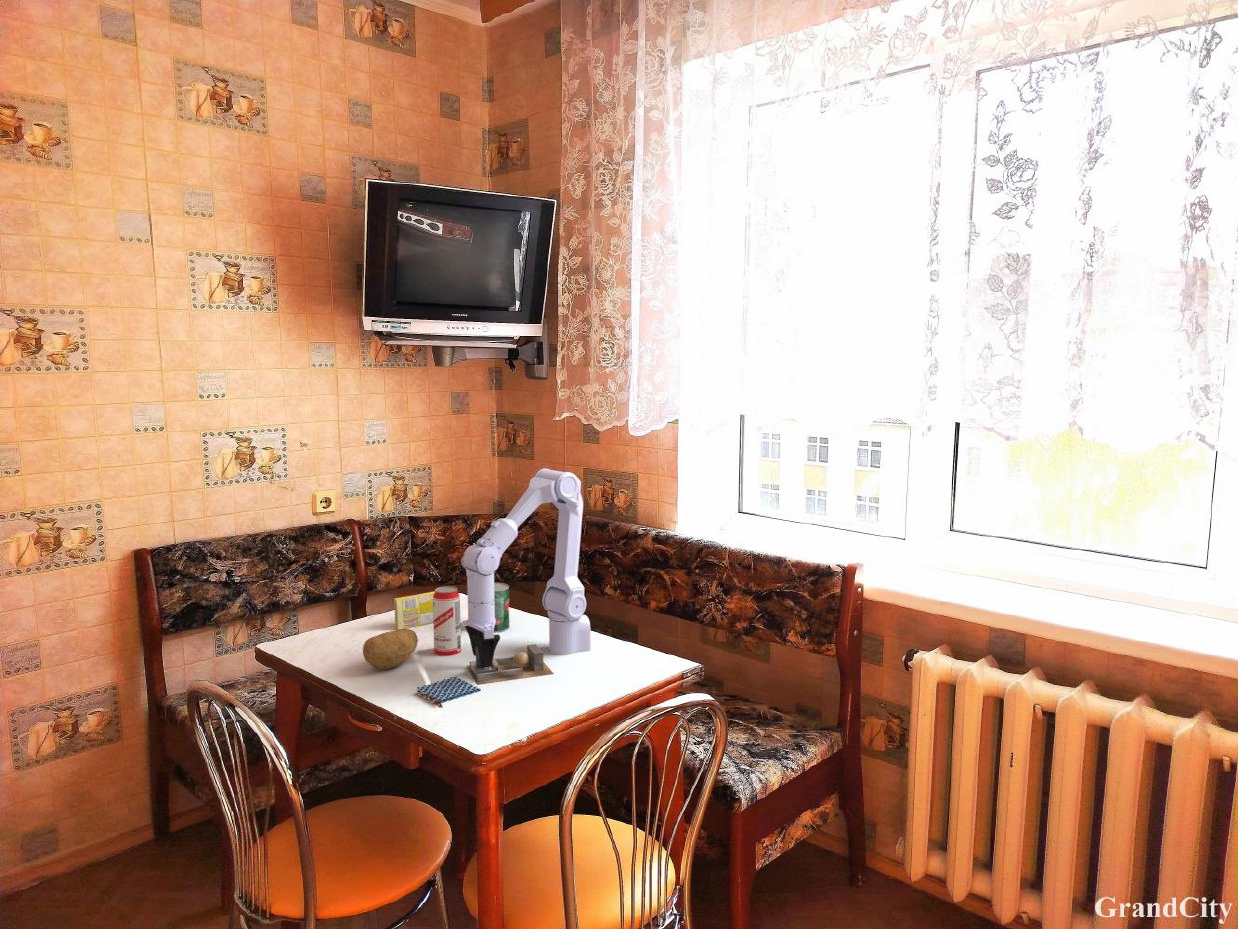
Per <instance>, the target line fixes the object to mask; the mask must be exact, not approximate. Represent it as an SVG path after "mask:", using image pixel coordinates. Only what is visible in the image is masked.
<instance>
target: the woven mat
mask: <svg viewBox="0 0 1238 929" xmlns="http://www.w3.org/2000/svg"><path fill="white" fill-rule="evenodd" d="M416 688H417V689H416V694H418V695H417V696H419V697H420V698H421V697H423V698H422V699H424V700H427V701H428V700H429V701H428V702H429V703H432V704H433V705H434V706H435V705H437V708H443V704H444V703H445V702H448V701H449V702H450V701H452V700H454V699H458V698H460V697H462V698H463V697H465V696H467V695H471V694H473V693H478V692H481V688H479V687H478V686H475V685H474V684H472V683H470V682H468V681H467V680H464V679H463V678H460V677H457V676H454V677H452V676H451V677H450V678H447V679H445V678H444V679H443V680H441V681H439V680H438V681H436V682H434V683H433V682H431V683H430V684H424V685H422V686H421V687H420V686H417V687H416ZM421 695H422V696H421ZM427 698H428V699H427Z"/></svg>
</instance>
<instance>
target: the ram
mask: <svg viewBox="0 0 1238 929" xmlns="http://www.w3.org/2000/svg"><path fill="white" fill-rule="evenodd" d="M475 661H476V662H472V661H470V662H471V670H472V672H473V674H474V675H475V677H476V679H477V674H481V673H488V672H495V671H498V663H497V661H496V660H495V657H494V656H493V661H492V665H491V667H483V668H482V667H481V664H480V659H479V653H478V649H477V646H476V656H475Z"/></svg>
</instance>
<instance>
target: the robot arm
mask: <svg viewBox="0 0 1238 929" xmlns="http://www.w3.org/2000/svg"><path fill="white" fill-rule="evenodd" d="M581 485H582V481H581V480H580V479H579V477H577V476H576V475H575V474H574V473H572V472H569V471H560V470H552V469H549V468H542V469H539V470H538V471H537V472H536V473H535V475H534V476H533V477H532V478H531V479H530V480H529V484H528V488H527V489H526V490H525V492H524V493H523V494H522V496H521V497H520V498H519V499H518V501H517V502H516V503H515V505H514V506H513V508H512V509H511V510H510V512H508V514H507V515H506V517H505V518H498V519H497V520H493V521H492V522H491V523H490V528H489V529H488V530H487V531H486V532H485V533H484V534H483V536H481V538H479V539H477V540H476V542H477V543H476V544H473V545H470V546H469V547H467V549H466V550H465V551H464V553H463V556H462V558H461V559H460V562H461V565H462V567H463V568H464V569H465V571H466V572H465V573H466V575H465V576H466V577H467V580H466V581H467V582H466V584H467V587H466V588H467V617H468V618H467V619H466V620H465V619H464V620H462V625H463V627H464V629H465V631H466V632H467V635H468V638H469V641H470V646H471V651H472V654H473V656H474V657H476V646H477V649H478V653H479V659H480V664H481V667H482V668H483V667H491V665H492V661H493V657H494V655H495V651H496V648H497V645H498V643H499V642H500V641H501V635H500V634H498V633H497V634H495V633H494V626H495V623H496V619H495V605H494V583H495V571H496V570H498V568H499V566H500V561H501V558H502V557H503V554H504V552H505V551H506V550H507V549H508V548H509V546H511V544H512V543H513V542H514V541H515V539H516V538H517V537H518V536H519V534H518V529H519V528H520V526H521V525H522V524H523V523H524V522H525V521H526V520H527V518H528V519H529V517H530V516H531V515H532V513H533V512H535V511H536V509H538V508H539V506H540V505H543V504H547V503H552V504H553V505H554V506H555V507H556V508H557V509H558V520H557V532H556V533H557V534H556V547H555V557H554V558H555V559H554V569H553V570H554V571H553V575H552V577H551V578H550V579H548V581H547V582H546V588H545V591H544V592H543V596H542V606H543V608H544V610H546V611H547V616H548V629H549V630H548V631H549V632H548V634H549V635H548V636H549V638H548V639H549V640H548V642H549V643H548V644H549V645H548V646H549V650H548V651H549V652H550V653H551V654H554V655H559V656H568V655H569V656H570V655H573V654H578V653H583V652H584V653H585V652H591V647H592V646H591V642H592V641H591V640H592V639H591V622H590V619H589V616H587V615H586V614H584V613H585V612H586V608H587V600H586V597H585V587H584V585H583V584H582V582H581V581H580V579H579V577H578V571H579V561H580V560H579V559H580V548H581V547H580V546H581V536H582V525H583V524H582V523H583V522H582V521H583V510H584V501H583V496H582V493H581V487H582V486H581Z"/></svg>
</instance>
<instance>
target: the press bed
mask: <svg viewBox="0 0 1238 929" xmlns="http://www.w3.org/2000/svg"><path fill="white" fill-rule="evenodd" d="M526 647H527V648H526V650H527V652H526V654H527V655H528V657H529V663H528V665H527V666H526V667H525V668H517V667H515V665H514V664H513V657H514V655H513V656H512V655H511V656H504V657H497V658H495V657H494V658H495V660H496V661H497V663H498V671H495V672H488V673H481V674H477V679H476V677H475V675H474V674H473V672H472V670H471V662H476V660H474V661H469V662H468V664H469V665H465V667H466V669H467V670H468V672H469V674H470V675H471V677H472V679H473V680H474V682H475V684H476V685H477V686H479V685H480V686H481V685H486V684H494V683H501V682H508V681H513V680H514V681H515V680H516V681H517V680H521V679H523V680H524V679H527V678H528V679H529V678H535V677H536V678H537V677H544V676H550V675H554V674H555V673H554V672H553V671H552V670H551V669H550V667H549V666H548V665H547V664H546V662H544V652H543V651H542V649H541V648H540V647H539V646H538V645H537V644H535V643H534V644H528V645H527V646H526Z"/></svg>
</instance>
